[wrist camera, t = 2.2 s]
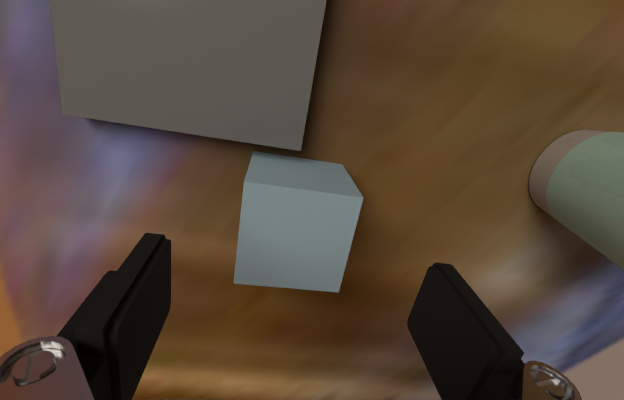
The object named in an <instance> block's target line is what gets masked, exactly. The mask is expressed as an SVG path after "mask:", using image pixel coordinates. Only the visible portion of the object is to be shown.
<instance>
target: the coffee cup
mask: <svg viewBox="0 0 624 400" xmlns="http://www.w3.org/2000/svg"><path fill="white" fill-rule="evenodd" d="M529 192H530V196H531V198H532V200H533V201H534V203H535V204H536V205H537V206H538V207H540V208H541V209H542V210H544V211H545V212H546V213H548V214H549V215H550V216H552V217H553V218H554V219H556V220H557V221H558V222H560V223H561V224H562V225H564V226H565V227H566V228H568V229H569V230H570V231H572V232H573V233H574V234H576V235H577V236H578V237H580V238H581V239H582V240H584V241H585V242H587V243H588V244H589V245H591V246H592V247H593V248H595V249H596V250H597V251H599V252H600V253H601V254H603V255H604V256H605V257H607V258H608V259H609V260H611V261H612V262H613V263H615V264H616V265H617V266H619V267H620V268H621V269H623V270H624V133H623V132H610V131H597V130H578V131H574V132H571V133H568V134H566V135H564V136H562V137H560V138H558V139H557V140H555V141H554V142H552V143H551V144H550V145H549V146H548V147H547V148H546V149H545V150H544V151H543V152H542V153H541V154H540V156H539V157H538V159H537V160H536V162H535V164H534V166H533V168H532V171H531V174H530V177H529Z"/></svg>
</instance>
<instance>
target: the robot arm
mask: <svg viewBox="0 0 624 400" xmlns="http://www.w3.org/2000/svg"><path fill="white" fill-rule="evenodd" d="M170 304H171V240H168V239H166V238H165V235H162V234H152V233H145V234H144V236H143V237H142V238H141V240H140V241H139V242H138V244H137V245H136V246H135V248H134V249H133V250H132V252H131V253H130V254H129V256H128V257H127V258H126V260H125V261H124V262H123V264H122V265H121V266H120V268H119V269H118V271H108V272H107V273H106V274H105V275H104V276H103V278H102V279H101V280H100V281H99V283H98V284H97V285H96V287H95V288H94V289H93V290H92V292H91V293H90V294H89V295H88V297H87V298H86V299H85V301H84V302H83V303H82V304H81V306H80V307H79V308H78V309H77V311H76V312H75V313H74V315H73V316H72V317H71V318H70V320H69V321H68V322H67V323H66V325H65V326H64V327H63V329H62V330H61V331H60V332H59V334H58V335H57V336H46V337H39V338H35V339H32V340H28V341H26V342H24V343H22V344H19V345H17V346H15V347H13V348H12V349H10V350H9V351H7V352H6V353H5V354H3V355H2V356H1V357H0V400H132V398H133V395H134V393H135V391H136V388H137V386H138V384H139V381H140V379H141V377H142V374H143V372H144V369H145V367H146V365H147V362H148V360H149V358H150V355H151V353H152V351H153V348H154V346H155V344H156V341H157V339H158V337H159V334H160V332H161V329H162V327H163V325H164V322H165V320H166V318H167V315H168V313H169V310H170ZM408 329H409V331H410V333H411V335H412V337H413V340H414V342H415V344H416V346H417V348H418V350H419V352H420V354H421V357H422V359H423V361H424V363H425V365H426V367H427V369H428V371H429V374H430V376H431V378H432V380H433V382H434V384H435V386H436V388H437V391H438V393H439V395H440V397H441V399H442V400H582V399H581V396H580V393H579V391H578V390H577V388H576V387H575V385H574V384H573V383H572V382H570V380H569V379H568V378H567V377H566V376H564V375H563V374H562V373H560V372H559V371H558V370H556V369H554V368H553V367H551V366H549V365H547V364H544V363H542V362H538V361H528V362H527V363H525V364H524V363H523V361H522V360H521V357H522V356H523V354H524V352H523V351H522V350H521V349H520V347H519V346H518V345H517V344H516V342H515V341H514V340H513V339H512V338H511V336H510V335H509V334H508V333H507V331H506V330H505V329H504V328H503V327H502V325H501V324H500V323H499V322H498V320H497V319H496V318H495V317H494V316H493V314H492V313H491V312H490V311H489V309H488V308H487V307H486V306H485V305H484V303H483V302H482V301H481V300H480V298H479V297H478V296H477V295H476V294H475V292H474V291H473V290H472V289H471V287H470V286H469V285H468V284H467V283H466V281H465V280H464V279H463V278H462V276H461V275H460V274H459V273H458V272H457V270H456V269H455V268H454V267H453V266H452V265H451V264H444V263H434V264H433V266H430V267H429V268H428V270H427V273H426V275H425V278H424V280H423V283H422V285H421V288H420V290H419V293H418V295H417V298H416V300H415V303H414V305H413V308H412V310H411V313H410V315H409V318H408ZM154 400H220V399H154Z"/></svg>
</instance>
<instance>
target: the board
mask: <svg viewBox="0 0 624 400" xmlns="http://www.w3.org/2000/svg"><path fill="white" fill-rule="evenodd" d="M326 1H327V0H50V7H51V16H52V25H53V34H54V42H55V51H56V60H57V69H58V78H59V87H60V96H61V105H62V114H64V115H70V116H77V117H83V118H90V119H96V120H103V121H109V122H116V123H122V124H129V125H135V126H142V127H148V128H155V129H161V130H167V131H174V132H180V133H187V134H193V135H200V136H206V137H213V138H219V139H226V140H232V141H239V142H245V143H252V144H258V145H265V146H271V147H278V148H284V149H291V150H297V151H301V147H302V142H303V136H304V130H305V124H306V118H307V112H308V106H309V100H310V95H311V89H312V83H313V77H314V71H315V65H316V59H317V54H318V48H319V42H320V36H321V30H322V24H323V18H324V13H325V7H326Z"/></svg>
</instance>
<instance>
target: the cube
mask: <svg viewBox="0 0 624 400" xmlns="http://www.w3.org/2000/svg"><path fill="white" fill-rule="evenodd" d="M362 202H363V196H362V195H361V193H360V191H359V190H358V188H357V187H356V185H355V184H354V182H353V180H352V179H351V177H350V176H349V174H348V172H347V171H346V169H345V168H344V166H343V165H342V164H337V163H330V162H324V161H317V160H310V159H304V158H297V157H290V156H284V155H277V154H271V153H264V152H257V151H253V154H252V157H251V161H250V164H249V167H248V170H247V174H246V177H245V180H244V188H243V197H242V207H241V216H240V225H239V235H238V244H237V254H236V263H235V273H234V282H233V283H234V284H246V285H258V286H269V287H281V288H293V289H304V290H316V291H328V292H339V290H340V286H341V282H342V278H343V274H344V271H345V267H346V263H347V259H348V255H349V251H350V248H351V244H352V240H353V236H354V232H355V228H356V225H357V221H358V217H359V213H360V209H361V205H362Z"/></svg>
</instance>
